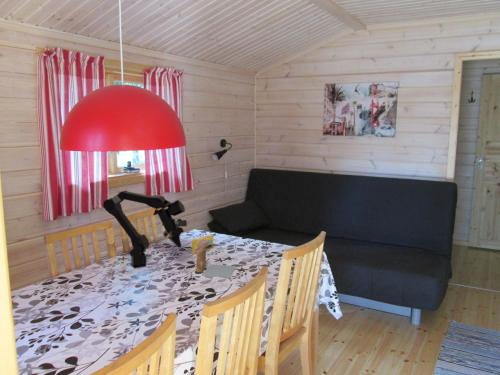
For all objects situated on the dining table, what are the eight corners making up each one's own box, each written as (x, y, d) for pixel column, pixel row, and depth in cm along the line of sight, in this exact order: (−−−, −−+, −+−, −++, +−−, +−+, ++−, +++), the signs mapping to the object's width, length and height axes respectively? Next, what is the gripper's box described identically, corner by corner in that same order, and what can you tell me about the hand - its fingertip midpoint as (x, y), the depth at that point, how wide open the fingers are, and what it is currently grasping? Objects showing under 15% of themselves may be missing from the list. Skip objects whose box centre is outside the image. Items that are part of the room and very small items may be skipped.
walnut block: (196, 272, 214) (196, 252, 212) (200, 267, 221) (200, 248, 219) (202, 272, 213) (202, 252, 212) (205, 267, 220) (205, 248, 219)
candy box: (194, 254, 241) (194, 240, 240) (191, 254, 243) (191, 239, 241) (213, 248, 254) (213, 234, 253) (211, 247, 255) (211, 234, 254)
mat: (202, 275, 209) (202, 275, 209) (209, 264, 225) (209, 264, 225) (230, 277, 207) (230, 276, 207) (236, 266, 223) (236, 266, 223)
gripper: (185, 211, 211) (199, 240, 212) (176, 213, 228) (188, 240, 229) (165, 221, 206) (179, 250, 207) (157, 222, 223) (170, 249, 224)
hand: (180, 247), depth 217 cm, fingers closed
